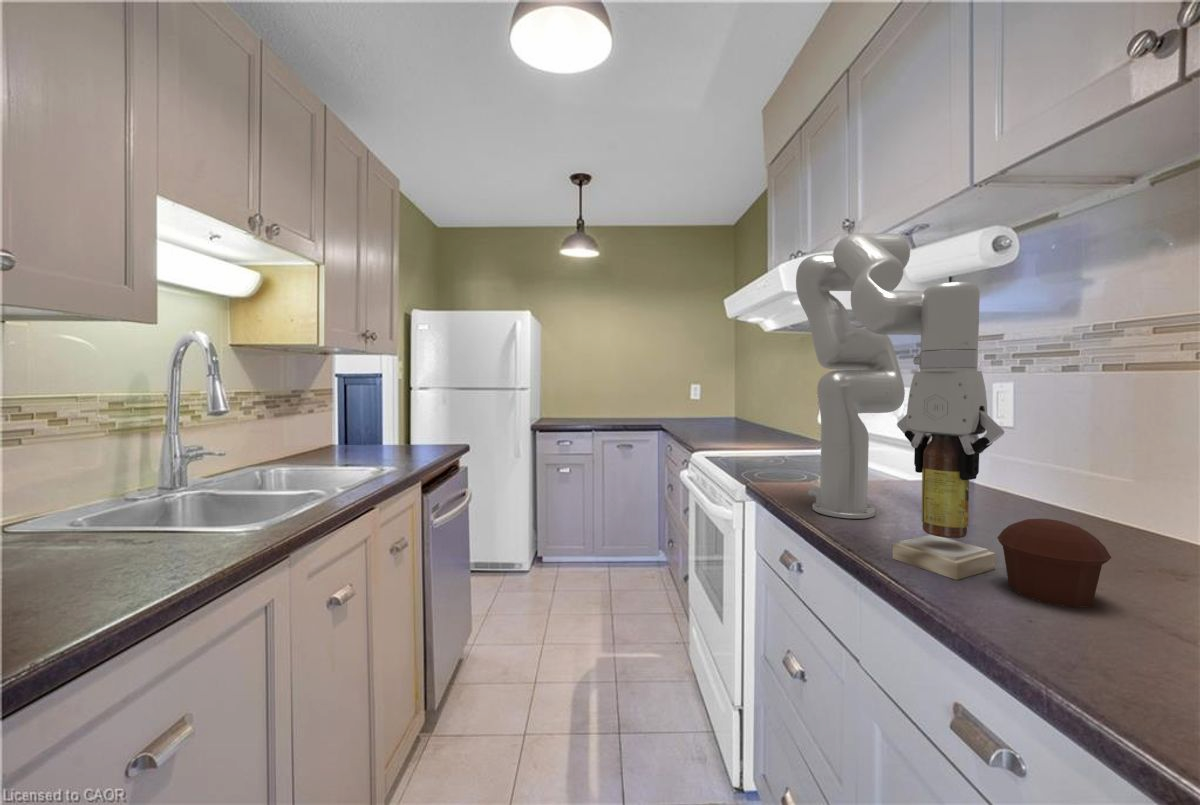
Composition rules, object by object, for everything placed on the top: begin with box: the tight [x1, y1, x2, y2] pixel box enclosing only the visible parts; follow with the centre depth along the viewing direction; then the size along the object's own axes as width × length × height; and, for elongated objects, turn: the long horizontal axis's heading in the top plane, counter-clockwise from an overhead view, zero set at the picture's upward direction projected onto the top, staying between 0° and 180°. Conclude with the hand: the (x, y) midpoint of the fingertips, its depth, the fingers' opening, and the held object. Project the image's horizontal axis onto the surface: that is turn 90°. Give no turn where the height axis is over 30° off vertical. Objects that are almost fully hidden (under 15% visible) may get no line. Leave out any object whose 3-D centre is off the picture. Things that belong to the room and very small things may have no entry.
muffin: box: [996, 518, 1112, 609], centre depth 70 cm, size 12×11×10 cm
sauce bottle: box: [921, 434, 970, 539], centre depth 81 cm, size 7×6×20 cm
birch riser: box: [892, 534, 997, 581], centre depth 82 cm, size 10×10×3 cm
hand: (944, 474), depth 81 cm, fingers closed on sauce bottle, 6 cm apart
